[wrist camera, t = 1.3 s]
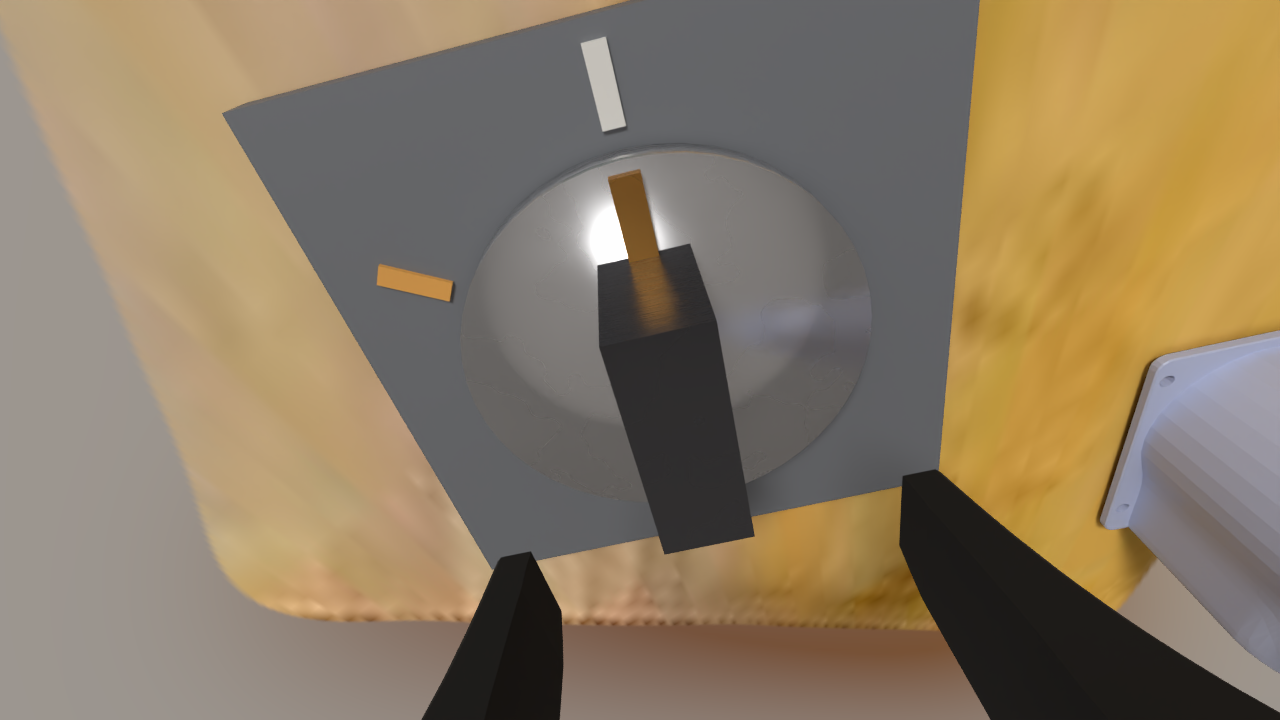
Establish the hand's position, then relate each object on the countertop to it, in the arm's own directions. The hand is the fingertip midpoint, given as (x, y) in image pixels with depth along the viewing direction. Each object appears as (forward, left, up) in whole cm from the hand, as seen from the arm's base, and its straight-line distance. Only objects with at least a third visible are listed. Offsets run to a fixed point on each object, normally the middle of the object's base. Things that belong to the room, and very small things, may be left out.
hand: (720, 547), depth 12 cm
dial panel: (0, 0, -9) cm, 9 cm away
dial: (0, 0, -8) cm, 8 cm away
